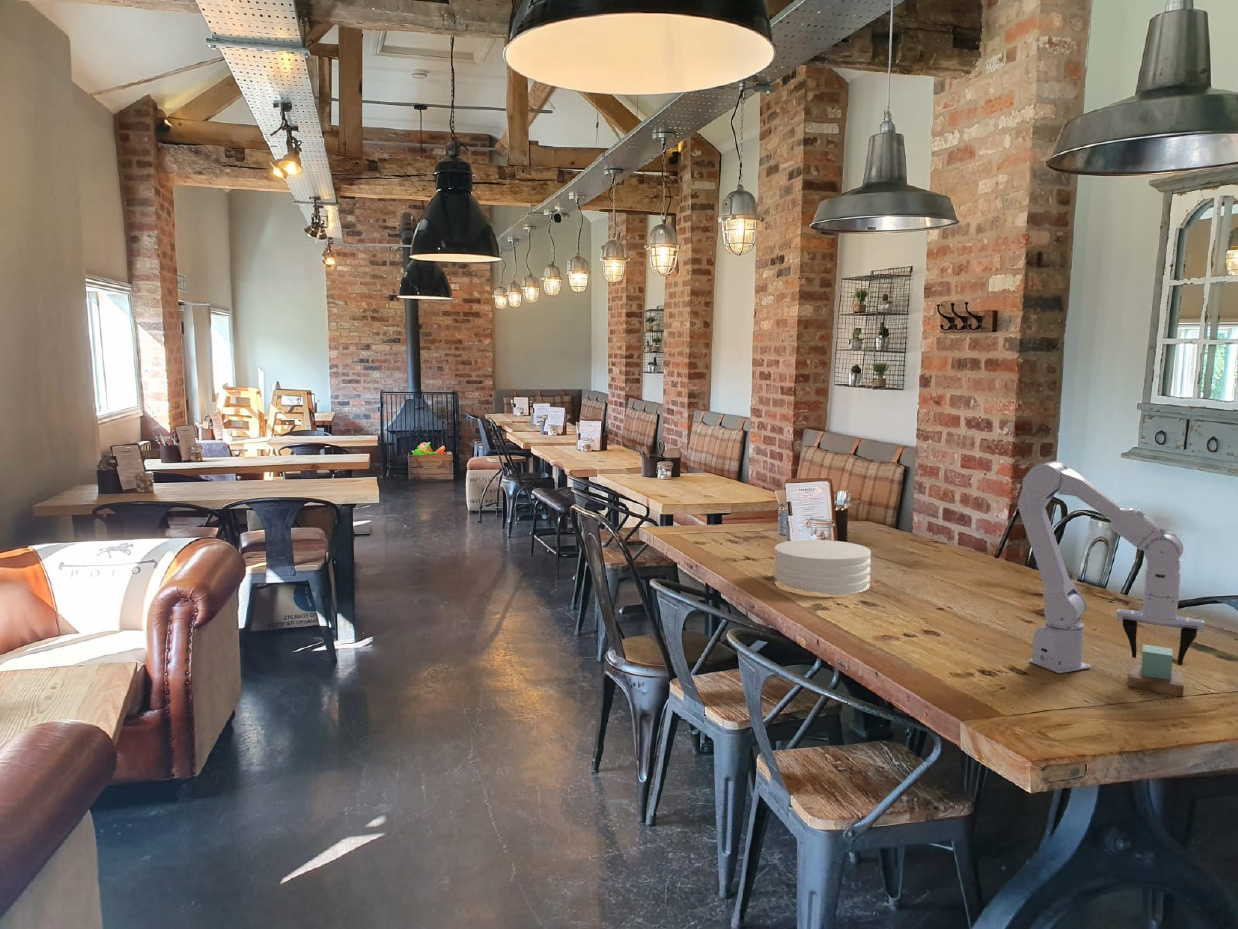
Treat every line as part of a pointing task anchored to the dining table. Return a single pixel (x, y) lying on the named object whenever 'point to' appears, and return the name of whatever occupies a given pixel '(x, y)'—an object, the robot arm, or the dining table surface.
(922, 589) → the dining table surface
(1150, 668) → the teal cube
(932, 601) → the dining table surface
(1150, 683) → the walnut base
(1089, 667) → the robot arm
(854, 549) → the plate stack
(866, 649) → the dining table surface
